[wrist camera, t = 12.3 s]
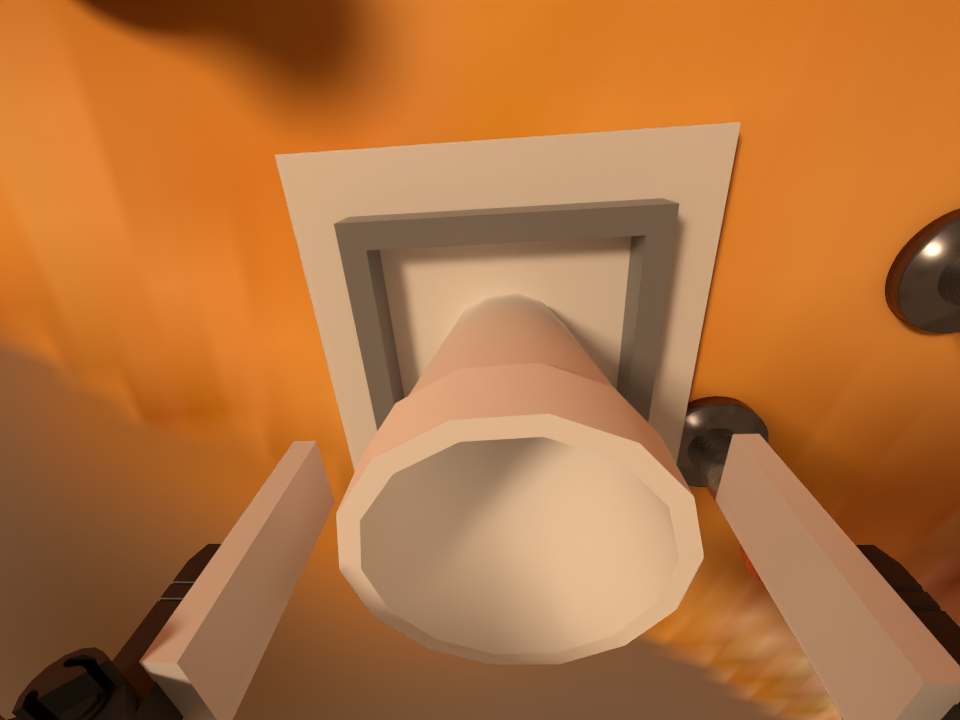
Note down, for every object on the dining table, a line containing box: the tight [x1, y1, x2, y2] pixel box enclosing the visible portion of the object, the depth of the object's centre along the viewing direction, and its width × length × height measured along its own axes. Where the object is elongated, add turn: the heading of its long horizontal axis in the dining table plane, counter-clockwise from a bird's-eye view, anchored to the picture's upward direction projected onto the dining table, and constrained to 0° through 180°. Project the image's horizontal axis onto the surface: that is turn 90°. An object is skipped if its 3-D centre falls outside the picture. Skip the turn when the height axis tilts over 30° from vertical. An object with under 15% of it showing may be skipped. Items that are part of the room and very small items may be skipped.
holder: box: [275, 122, 741, 471], centre depth 22 cm, size 20×20×3 cm
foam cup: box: [336, 293, 704, 665], centre depth 17 cm, size 10×9×13 cm
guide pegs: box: [670, 209, 960, 588], centre depth 19 cm, size 6×20×10 cm, turn 139°
